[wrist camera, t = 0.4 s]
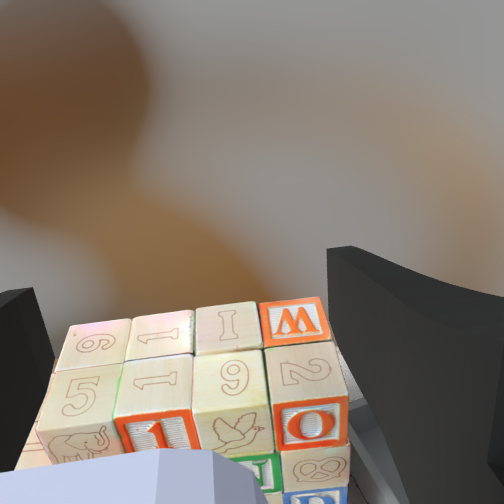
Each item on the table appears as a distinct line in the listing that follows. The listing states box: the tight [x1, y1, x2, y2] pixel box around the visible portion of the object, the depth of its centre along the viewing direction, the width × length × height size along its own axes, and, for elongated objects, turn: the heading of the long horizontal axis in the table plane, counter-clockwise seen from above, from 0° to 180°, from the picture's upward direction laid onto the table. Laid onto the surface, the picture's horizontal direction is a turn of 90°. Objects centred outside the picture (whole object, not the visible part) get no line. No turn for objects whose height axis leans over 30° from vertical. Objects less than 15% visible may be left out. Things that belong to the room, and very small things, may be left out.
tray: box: [348, 398, 410, 504], centre depth 27 cm, size 8×10×3 cm
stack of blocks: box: [14, 297, 351, 504], centre depth 24 cm, size 21×6×12 cm, turn 94°
